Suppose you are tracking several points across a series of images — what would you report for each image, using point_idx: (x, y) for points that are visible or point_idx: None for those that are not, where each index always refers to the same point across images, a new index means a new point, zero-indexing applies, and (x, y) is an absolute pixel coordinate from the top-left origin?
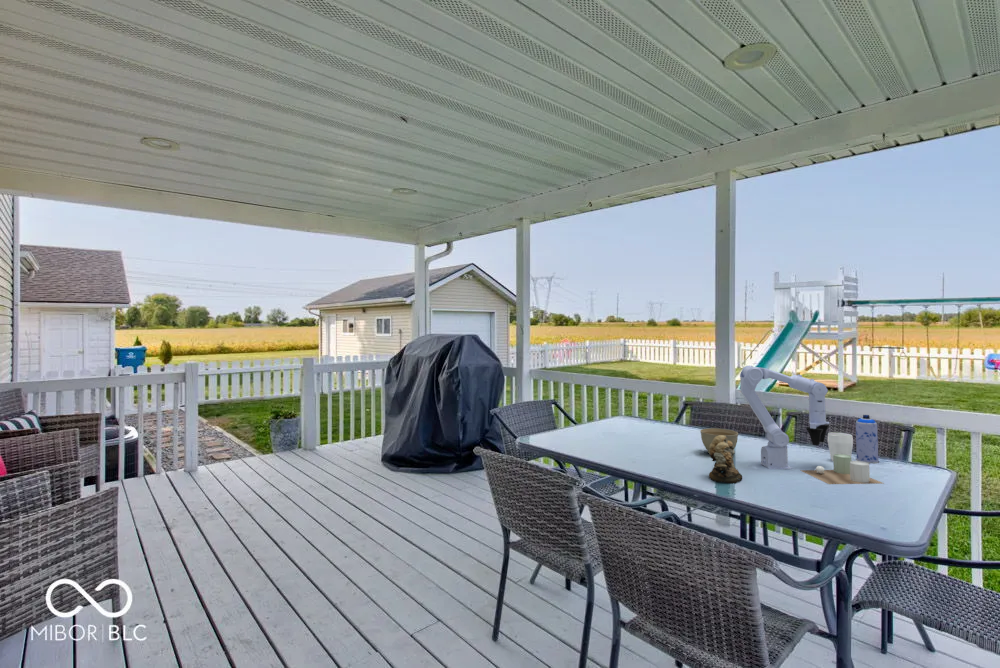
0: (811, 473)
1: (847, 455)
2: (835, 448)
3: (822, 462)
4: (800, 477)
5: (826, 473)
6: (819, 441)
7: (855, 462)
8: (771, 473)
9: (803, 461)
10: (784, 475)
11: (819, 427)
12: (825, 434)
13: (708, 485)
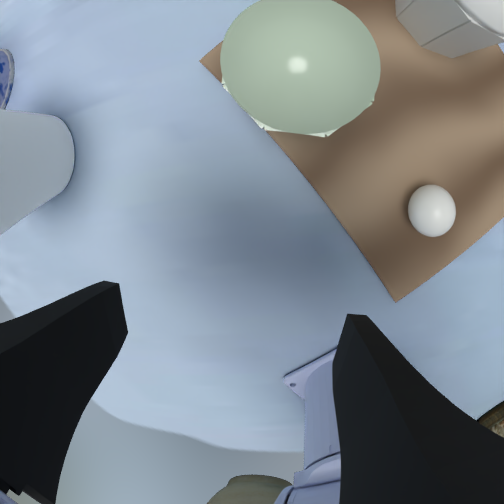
0: (436, 245)
1: (268, 19)
2: (19, 186)
3: (102, 226)
4: (488, 278)
5: (399, 172)
6: (380, 341)
7: (498, 4)
8: (457, 370)
9: (149, 307)
10: (474, 332)
11: (20, 451)
12: (28, 314)
13: None
